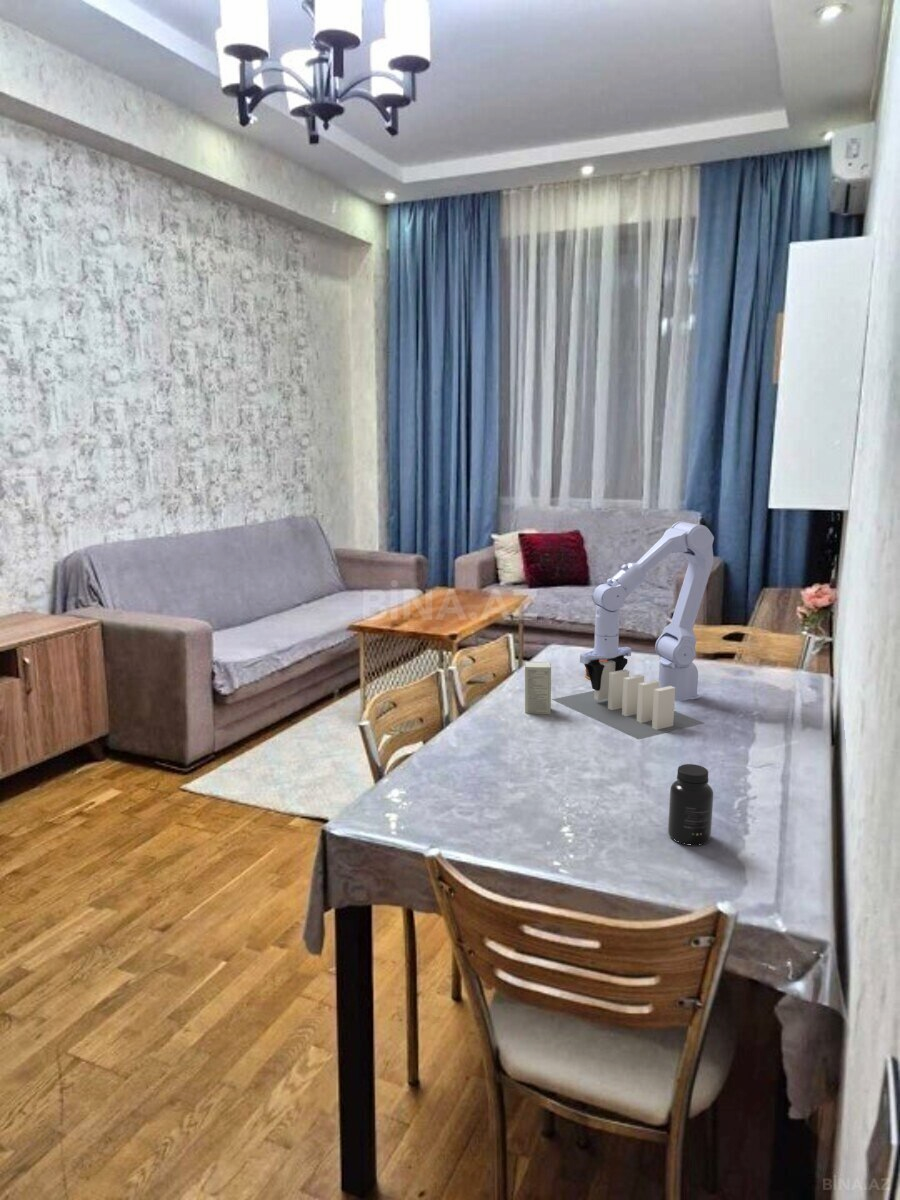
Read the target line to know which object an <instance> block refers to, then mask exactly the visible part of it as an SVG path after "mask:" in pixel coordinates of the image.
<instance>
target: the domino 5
mask: <svg viewBox="0 0 900 1200" xmlns="http://www.w3.org/2000/svg"><path fill="white" fill-rule="evenodd" d="M675 703H676V702H675V687H672V686H667V687H663V688H658V689H654V698H653V717H652V728H654V729H656V730H658V729H662V728H666V727H670V726H673V720H674V711H675Z"/></svg>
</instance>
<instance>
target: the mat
mask: <svg viewBox="0 0 900 1200" xmlns="http://www.w3.org/2000/svg"><path fill="white" fill-rule="evenodd" d="M594 694H595V690H592V691H586V692H581V693H576V694H571V695H567V696H561V697H557V698H551V701H552V700H553V701H554V702H556V703H559V704H561V705H563V706H565V707H567V708H569V709H571V710H574V711H576V712H578V713H580V714H582V715H584V716H587V717H589V718H590V719H594V720H595V721H598V722H600V723H602V724H604V725H606V726H608V727H611V728H613V729H615V730H617V731H619V732H622V733H623V734H625V735H628V736H630V737H632V738H634V739H636V740H641V739H647V738H650V737H654V736H658V735H662V734H666V733H670V732H674V731H678V730H683V729H686V728H690V727H694V726H699V725H702V724H704V722H703V721H700V720H698V719H695V718H693V717H690V716H688V715H685V714H682V713H681V712H679V711H675V710H674V720H673V726H670V727H666V728H662V729H658V730H656V729H654V728H652V720H651V721H647V722H643V723H640V722H638V721H637V714H635V715H630V716H624V715H622V708H620V709H615V710H610V709H608V698H607V699H602V700H596V699H594Z"/></svg>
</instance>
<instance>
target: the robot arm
mask: <svg viewBox="0 0 900 1200" xmlns="http://www.w3.org/2000/svg"><path fill="white" fill-rule="evenodd" d="M663 533H664V534H663V535H662V537H661V538H659V540H657V542H655V543H654V545H653V546H651V548H649V550H648V551H646V552H645V553H644V555H643V556H641V558H639V560H637V561H636V562H628V563H627V564H625V563H624V564H623V565H621V566H620V568H621V569H620V570H619V571H617V573H616V574H614V576H612V577H610V578H608V579H607V580H606V583H603V584H602V583H601V584H599V585H598V586H596V587H595V589H594V592H593V594H592V595H591V601H592V602H593V604H594V606H595V617H594V620H595V621H594V644H593V645H594V647H593V648H592V650H591V651H588V652H586V653H581V654H579V663H580V664H583V665H584V667H585V670H586V669H587V671H588V673H589V676H590V680H589V681H590V682H591V687H592V689H593V691H595V690H597V691H599V690H600V687H601V676H602V672H603V669H604V667H605V666H604V665H602V664H600V662H599V661H600V660H606V659H607V661H611V660H612V661H614V662H615V671H619V670H625V669H624V668H625V667H626V665H627V664H628V660H629V659H627V658H626V657H631V656H632V648H631V647H628V646H623V647H622V646H621V647H619V640H620V639H619V638H620V611H621V608H623V607H624V605H625V603H626V599H627V597H629V596H630V595H631V594H632V593H633V592H634V591H635V590H636V589H637V588H638V587H640V586H641V584H643V583H644V582H645V581H646V579H647V578H646V576H647V573H648V572H649V571H651V570H652V569H653V568H655V567H656V566H657V565H658V564H659V563H661V562H662V561H663V560H664V559H666V558H667V557H668V556H670V555H671V554H674V553H683V555H684V556H685V558H686V559H687V561H688V565H687V569H686V572H685V575H684V578H683V582H682V585H681V588H680V592H679V595H678V598H677V602H676V605H675V608H674V610H673V615H672V618H671V622H670V623H669V624H667V625H666V626H665V627H664V628H663V630H662V632H661V635H660V636H659V637H658V638H657V639H656V641H655V646H654V647H655V653H656V654H657V655H658V657H659V659H658V660H659V665H658V682H659V688H663V687H667V686H672V687H675V702H674V703H679V702H683V701H687V700H692V701H693V700H697V699H700V696H699V695H698V687H699V685H698V684H699V683H698V682H699V670H698V668H697V666H696V664H695V663H694V661H695V659H696V654H697V653H696V652H697V651H696V644H697V637H696V635H695V633H694V627H695V624H696V620H697V617H698V613H699V610H700V607H701V604H702V601H703V597H704V594H705V592H706V587H707V585H708V582H709V579H710V578H709V577H710V574H711V571H712V567H713V564H714V560H715V559H714V552H713V551H714V550H713V549H714V548H713V543H714V540H715V537H714V535H713V533H712V531H710V529H709V528H708V527H707V526H706V525H703V524H695V523H691V522H690V523H689V522H687V521H684V520H680V521H676V522H675V523H674V524H672V525H671V527H669V528H667V529H665V532H663ZM625 656H626V657H625Z"/></svg>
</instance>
